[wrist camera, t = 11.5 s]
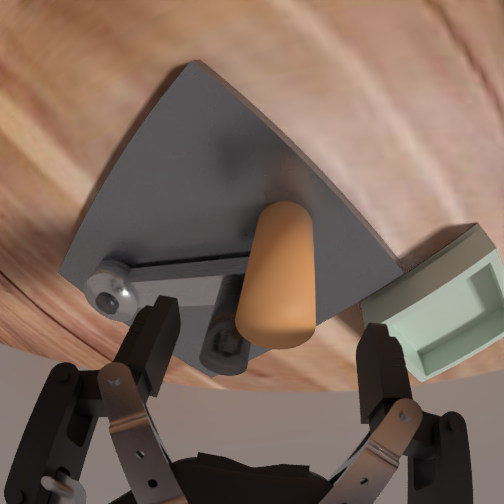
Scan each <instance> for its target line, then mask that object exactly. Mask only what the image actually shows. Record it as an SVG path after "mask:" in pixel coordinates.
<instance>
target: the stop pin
mask: <svg viewBox="0 0 504 504" xmlns="http://www.w3.org/2000/svg"><path fill="white" fill-rule="evenodd" d="M235 324H236V328H237V330H238V331H239V333H240V334H241V335H242V336H243V337H244V338H245V339H246V340H248V341H249V342H251V343H253V344H255V345H257V346H260V347H264V348H269V349H289V348H293V347H296V346H299V345H301V344H303V343H305V342H306V341H308V340H309V339H310V338H311V337H312V335H313V334H314V331H315V328H316V305H315V267H314V243H313V224H312V219H311V217H310V215H309V213H308V212H307V211H306V210H305V209H304V208H303V207H302V206H300V205H298V204H296V203H293V202H288V201H280V202H275V203H273V204H270V205H269V206H267V207H266V208H265V209H264V210H263V211H262V212H261V214H260V216H259V218H258V222H257V227H256V231H255V235H254V240H253V244H252V248H251V252H250V257H249V261H248V265H247V270H246V274H245V278H244V283H243V287H242V291H241V296H240V300H239V304H238V309H237V313H236V317H235Z"/></svg>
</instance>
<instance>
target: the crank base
mask: <svg viewBox="0 0 504 504" xmlns="http://www.w3.org/2000/svg"><path fill="white" fill-rule="evenodd" d="M280 201H288V202H293V203H296V204H298V205H300V206H302V207H303V208H304V209H305V210H306V211H307V212H308V213H309V215H310V217H311V219H312V224H313V243H314V267H315V305H316V326H317V325H319V324H321V323H322V322H324V321H326V320H328V319H330V318H331V317H333V316H335V315H337V314H338V313H340V312H342V311H344V310H345V309H347V308H349V307H351V306H352V305H354V304H356V303H357V302H359V301H361V300H362V299H364V298H366V297H367V296H369V295H371V294H372V293H374V292H376V291H377V290H379V289H380V288H382V287H384V286H385V285H387V284H388V283H390V282H392V281H393V280H395V279H396V278H398V277H399V276H401V275H403V274H404V272H403V269H402V266H401V264H400V261H399V259H398V258H397V257H396V255H395V254H394V253H393V252H392V250H391V249H390V248H389V247H388V245H387V244H386V243H385V242H384V241H383V239H382V238H381V237H380V236H379V234H378V233H377V232H376V231H375V230H374V229H373V227H372V226H371V225H370V224H369V223H368V221H367V220H366V219H365V218H364V217H363V216H362V215H361V213H360V212H359V211H358V210H357V209H356V208H355V207H354V205H353V204H352V203H351V202H350V201H349V200H348V199H347V198H346V197H345V195H344V194H343V193H342V192H341V191H340V190H339V189H338V188H337V187H336V186H335V185H334V183H333V182H332V181H331V180H330V179H329V178H328V177H327V176H326V175H325V174H324V173H323V172H322V171H321V170H320V169H319V168H318V167H317V166H316V164H315V163H314V162H313V161H312V160H311V159H310V158H309V157H308V156H307V155H306V154H305V153H304V152H303V151H302V150H301V149H300V148H299V147H298V146H297V145H296V144H295V143H294V142H293V141H292V140H291V139H290V138H289V137H287V136H286V135H285V134H284V133H283V132H282V131H281V130H280V129H279V128H278V127H277V126H276V125H275V124H274V123H273V122H272V121H271V120H270V119H268V118H267V117H266V116H265V115H264V114H263V113H262V112H261V111H260V110H259V109H258V108H256V107H255V106H254V105H253V104H252V103H251V102H250V101H249V100H247V99H246V98H245V97H244V96H243V95H242V94H241V93H239V92H238V91H237V90H236V89H235V88H234V87H233V86H231V85H230V84H229V83H228V82H227V81H225V80H224V79H223V78H222V77H221V76H219V75H218V74H217V73H216V72H215V71H213V70H212V69H211V68H210V67H208V66H207V65H206V64H205V63H203V62H202V61H201V60H193V61H191V62H190V63H189V64H188V65H187V66H186V67H185V69H184V70H183V71H182V72H181V73H180V75H179V76H178V77H177V78H176V80H175V81H174V82H173V83H172V85H171V86H170V87H169V88H168V90H167V91H166V92H165V93H164V95H163V96H162V97H161V99H160V100H159V101H158V103H157V104H156V105H155V107H154V108H153V109H152V111H151V112H150V113H149V115H148V116H147V118H146V119H145V120H144V122H143V123H142V125H141V126H140V127H139V129H138V130H137V132H136V133H135V135H134V136H133V138H132V139H131V141H130V142H129V144H128V145H127V147H126V148H125V150H124V151H123V153H122V154H121V156H120V157H119V159H118V161H117V162H116V164H115V165H114V167H113V169H112V170H111V172H110V174H109V175H108V177H107V179H106V180H105V182H104V184H103V185H102V187H101V189H100V191H99V192H98V194H97V196H96V198H95V199H94V201H93V203H92V205H91V207H90V209H89V210H88V212H87V214H86V216H85V218H84V220H83V222H82V224H81V226H80V228H79V230H78V232H77V234H76V236H75V238H74V240H73V242H72V244H71V246H70V248H69V250H68V252H67V254H66V256H65V259H64V261H63V263H62V265H61V268H60V270H59V272H58V273H59V274H60V275H62V276H63V277H64V278H65V279H67V280H68V281H69V282H70V283H72V284H73V285H74V286H75V287H77V288H78V289H79V290H80V291H82V292H83V293H84V284H85V283H86V281H87V280H88V278H89V277H90V275H91V274H92V273H93V271H94V270H95V269H96V267H97V266H98V264H99V263H100V262H102V261H104V260H116V261H119V262H122V263H124V264H126V265H128V266H129V267H131V268H142V267H152V266H162V265H172V264H182V263H192V262H201V261H211V260H221V259H231V258H241V257H250V252H251V248H252V244H253V240H254V235H255V231H256V227H257V222H258V218H259V216H260V214H261V212H262V211H263V210H264V209H265V208H266V207H267V206H269V205H270V204H273V203H275V202H280ZM143 308H144V307H143ZM213 308H214V305H200V306H179V312H180V319H181V329H180V334H179V337H178V340H177V342H176V345H175V348H174V351H173V353H172V355H174V356H175V357H177V358H179V359H180V360H182V361H184V362H185V363H187V364H189V365H190V366H192V367H194V368H196V369H197V370H199V371H201V372H202V373H204V374H206V375H208V376H209V377H211V378H212V377H214V376H216V375H219V374H217V373H214V372H212V371H210V370H208V369H206V368H205V367H204V366H203V365H202V364H201V363H200V360H199V356H200V352H201V349H202V345H203V342H204V339H205V335H206V332H207V328H208V325H209V322H210V318H211V315H212V312H213ZM141 309H142V308H138V309H137V311H136V313H135V315H134V317H133V318H132V319H131V320H129V321H125V322H124V323H125V324H126V325H128V326H129V327H131V325H132V324H133V321H134V319H135V317H136V315H137V313H138V312H139V311H140V310H141ZM269 350H271V349H269V348H264V347H260V346H257V345H255V344H253V343H251V346H250V352H249V358H248V361H249V360H251V359H253V358H255V357H257V356H259V355H261V354H263V353H265V352H267V351H269Z"/></svg>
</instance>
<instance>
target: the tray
mask: <svg viewBox="0 0 504 504" xmlns="http://www.w3.org/2000/svg"><path fill="white" fill-rule="evenodd" d="M360 304H361V311H362V317H363V324H364V330H365V329H366V327H367V325H368V323H382V324H386V325H387V327H388V331H389V335H390V336H392V337H396V338H397V340H398V341H399V343H400V344H401V346H402V349H403V353H404V359H405V362H406V367H407V370H408V371H409V372H410V373H412V374H413V375H414V376H415V377H416V378H417V379H418V380H419V381H420V382H424V381H426V380H428V379H430V378H432V377H434V376H436V375H438V374H440V373H442V372H444V371H446V370H448V369H449V368H451V367H453V366H455V365H457V364H459V363H461V362H462V361H464V360H466V359H468V358H469V357H471V356H473V355H475V354H476V353H478V352H480V351H481V350H483V349H485V348H486V347H488V346H490V345H491V344H493V343H494V342H496V341H498V340H499V339H501V338H502V337H504V267H503V264H502V261H501V258H500V255H499V253H498V250H497V248H496V246H495V245H494V243H493V242H492V241H491V239H490V238H489V237H488V235H487V234H486V233H485V231H484V230H483V229H482V227H481V226H480V225H479V223H477V224H476V225H474V226H473V227H472V228H470V229H469V230H468V231H466V232H465V233H464V234H462V235H461V236H460V237H458V238H457V239H456V240H454V241H453V242H451V243H450V244H449V245H447V246H446V247H444V248H443V249H442V250H440V251H439V252H437V253H436V254H434V255H433V256H431V257H430V258H429V259H427V260H426V261H424V262H423V263H421V264H420V265H418V266H417V267H415V268H414V269H412V270H411V271H409V272H408V273H406V274H404V275H403V276H401V277H400V278H398V279H397V280H395V281H394V282H392V283H390V284H389V285H387V286H386V287H384V288H382V289H381V290H379V291H378V292H376V293H374V294H373V295H371V296H369V297H368V298H366V299H364V300H363V301H361V302H360Z"/></svg>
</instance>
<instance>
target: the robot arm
mask: <svg viewBox="0 0 504 504" xmlns="http://www.w3.org/2000/svg"><path fill="white" fill-rule="evenodd" d="M180 329H181V319H180V312H179V305H178V300H177V298H175V297H169V296H163V295H159V296H158V297H157V299H156V301H155V303H154V305H153V306H149V305H146V306H145V307H144V308H142V309H141V310H140V311H139V312H138V313H137V315H136V317H135V319H134V321H133V324H132V325H131V327H130V329H129V332H128V333H127V335H126V337H125V339H124V341H123V343H122V345H121V347H120V349H119V351H118V353H117V355H116V357H115V359H114V361H113V362H112V363H109V364H107V365H105V366H104V367H102V368H101V370H88V371H78V369H77V368H76V366H75V365H73V364H71V363H68V362H63V363H60V364H57V365H56V366H55V367H54V368H53V369H52V370H51V372H50V374H49V376H48V378H47V380H46V382H45V384H44V387H43V389H42V391H41V393H40V395H39V397H38V400H37V402H36V404H35V407H34V409H33V412H32V414H31V416H30V418H29V421H28V424H27V426H26V429H25V431H24V433H23V436H22V439H21V441H20V444H19V447H18V449H17V452H16V455H15V458H14V461H13V464H12V466H11V470H10V473H9V476H8V479H7V482H6V485H5V489H4V497H5V500H6V502H7V504H86V491H85V489H84V487H83V486H82V485H81V483H80V482H79V478H80V475H81V471H82V468H83V464H84V461H85V458H86V454H87V451H88V448H89V445H90V441H91V439H92V436H93V432H94V429H95V426H96V423H97V420H98V418H99V417H108V419H109V423H110V427H109V432H110V435H111V438H112V441H113V444H114V447H115V449H116V453H117V455H118V458H119V461H120V463H121V466H122V468H123V471H124V473H125V476H126V478H127V480H128V483H129V485H130V487H131V490H130V491H129V492H127V493H125V494H124V495H122V496H121V497H119V498H117V499H116V500H114V501H112V502H111V503H109V504H373V502H374V501H375V500H376V498H377V497H378V496H379V495H380V493H381V492H382V490H383V489H384V488H385V486H386V485H387V483H388V482H389V481H390V479H391V477H392V476H393V474H394V473H395V471H396V470H397V468H398V466H399V462H398V461H399V459H400V457H401V456H402V455H405V456H408V504H473V486H472V471H471V460H470V451H469V442H468V435H467V428H466V423H465V420H464V418H463V417H462V416H461V415H460V414H459V413H457V412H453V411H451V412H447V413H445V414H444V415H443V416H437V415H434V414H430V413H427V412H424V411H422V409H421V407H420V406H419V405H418V403H417V402H415V401H414V400H413V398H412V393H411V388H410V382H409V377H408V372H407V367H406V362H405V359H404V353H403V349H402V346H401V344H400V343H399V341H398V340H397V338H396V337H392V336H390V335H389V331H388V327H387V325H386V324H382V323H368V325H367V327H366V329H365V331H364V333H363V335H362V337H361V339H360V341H359V343H358V346H357V350H356V364H357V374H358V386H359V399H360V413H361V424H369V426H370V430H369V431H368V433H367V434H366V435H365V437H364V438H363V439H362V440H361V442H360V443H359V445H358V446H357V447H356V448H355V450H354V451H353V452H352V453H351V455H350V456H349V457H348V458H347V459H346V461H345V462H344V463H343V464H342V465H341V466H340V467H339V468H338V469H337V470H336V471H335V472H334V473H333V475H332V476H331V477H330V478H329V479H328V480H327V479H325V478H324V477H322V476H320V475H318V474H316V473H314V472H310V471H309V466H305V465H288V464H280V465H272V466H266V467H257V468H256V467H255V468H254V467H249V466H247V465H244V464H241V463H239V462H236V461H234V460H231V459H229V458H226V457H222V456H216V455H211V454H205V453H200V452H198V456H197V457H191V458H185V459H181V460H178V461H175V462H172V460H171V458H170V456H169V454H168V452H167V450H166V448H165V446H164V444H163V442H162V440H161V438H160V436H159V434H158V431H157V429H156V427H155V425H154V422H153V420H152V418H151V415H150V413H149V410H148V408H147V405H146V402H147V399H148V397H149V396H153V397H157V395H158V393H159V390H160V386H161V384H162V381H163V378H164V375H165V373H166V370H167V367H168V364H169V362H170V359H171V356H172V353H173V351H174V348H175V345H176V342H177V340H178V337H179V334H180Z"/></svg>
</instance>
